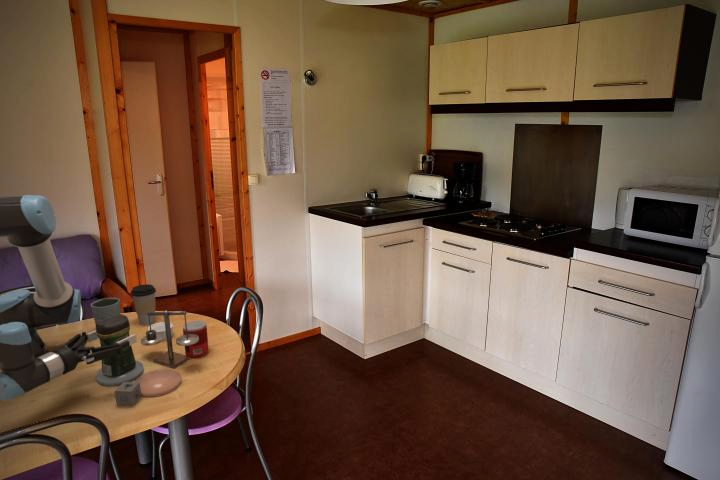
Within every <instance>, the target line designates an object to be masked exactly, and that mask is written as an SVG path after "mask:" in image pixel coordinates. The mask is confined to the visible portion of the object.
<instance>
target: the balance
mask: <svg viewBox="0 0 720 480" xmlns="http://www.w3.org/2000/svg"><path fill="white" fill-rule="evenodd" d="M147 315H148V317H149V325H148V327H149V326H150V330H149V331H148V330H147V331H146V332H145V336H143V337H142V338H140V344H141V345H142V346H146V347H147V346H148V347H149V346H155V345H158V344H160V343H162V342H164V341H163V336H162V335H159V334H156V331H155V330H151V325H152V324H151V323H150V316H155V317H156V316H158V317H159V316H161V317H163V320H164V321H163V322H165V330H166V338H167V340H166V346H167V347H166V348H167V351H165V352H163V353H161V354H160V355H157V356H156V357H154V358H152V363H154V364H157V365H160V366H163V367H167V368H169V369H172V370H175V369H176V368H178V367H180V366H182V365H183V364H185V363H186V362H188V361H190V360H191V358H190V356H186V354H182V353H179V352H175V351H174V347H173V339H172V337H173V336H172V337H171V328H170V323H171V321H170V320H171V319H170V316H184V325H185V327H186V335H180V336H178V337H177V338H176V340H175V344H176V345H177V346H180V347H185V346H189V345H193V344H195V343H197V342H198V341H199V336H198V335H195V334H187V324H186V323H187V311H186V310H180V311H175V310H174V311H169V310H163V311H155V312H148V313H147Z"/></svg>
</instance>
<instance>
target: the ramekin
mask: <svg viewBox="0 0 720 480" xmlns="http://www.w3.org/2000/svg"><path fill="white" fill-rule="evenodd" d="M173 327H174V325H173V323H172V322H170V328H171V337H173V334H174V333H173V332H174V330H173ZM149 330H150V326H149V325H148V328H147V331H149ZM151 330H155V331H156V334H159V335H162V336H163V341H162V342H164V341H167V338H166V330H165V321H161V322H156V323H152V324H151Z"/></svg>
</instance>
